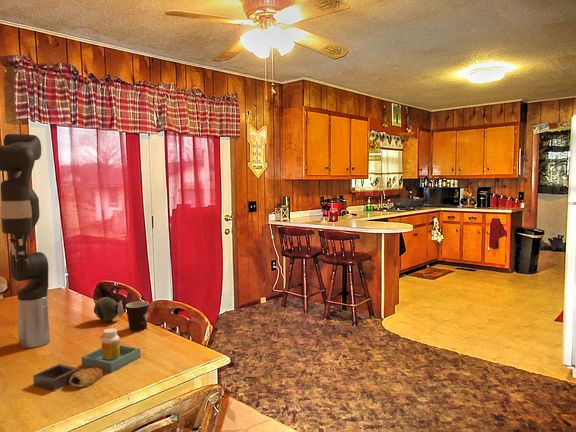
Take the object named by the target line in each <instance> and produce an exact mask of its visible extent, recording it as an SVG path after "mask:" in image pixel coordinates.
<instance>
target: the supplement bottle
mask: <svg viewBox="0 0 576 432" xmlns="http://www.w3.org/2000/svg"><path fill="white" fill-rule="evenodd" d="M120 345H121V344H120V336H119V335H118V330H117V328H106V329H104V330H103V337H102V338H101V348H102V360H104V361H109V362H112V361H114V360H116V359H118V358H120Z"/></svg>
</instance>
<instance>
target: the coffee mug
mask: <svg viewBox="0 0 576 432" xmlns="http://www.w3.org/2000/svg"><path fill="white" fill-rule="evenodd" d="M149 304H150V303H149V302H148V301H142V300H140V301H131V302H129V303H127V304H125V309H126V314H127V321H128V326H129V327H128V328H129V331H130V330H131V332H133V331H138V332H141V331H140V330H143V331H145V330H146V329H147V327H148V318H149V317H148V316H149V307H150V306H149ZM144 329H145V330H144Z"/></svg>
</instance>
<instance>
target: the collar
mask: <svg viewBox="0 0 576 432" xmlns="http://www.w3.org/2000/svg"><path fill="white" fill-rule="evenodd" d="M79 370H80V368H79V367H74V366H70V365H65V364H61V363H58V364H56V365H54V366H52V367H49V368H47V369H45V370H43V371H40V372H38V373H35V374H34V375H32V377H33V386H35V387H37V388H41V389H45V390H48V391H53V392H56V391H58V390H59V389H61V388H64V387H65V386H67V385H70V384H69V380H70V377H71V375H73V374H74V373H75V372H78V371H79Z"/></svg>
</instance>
